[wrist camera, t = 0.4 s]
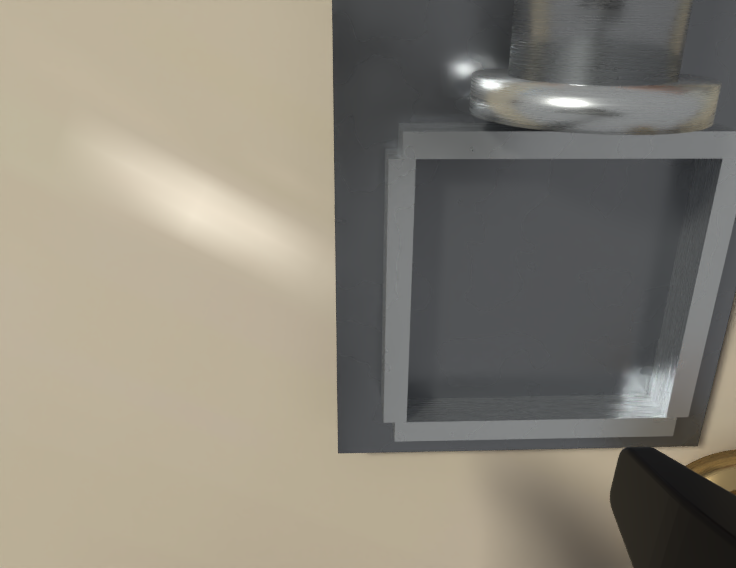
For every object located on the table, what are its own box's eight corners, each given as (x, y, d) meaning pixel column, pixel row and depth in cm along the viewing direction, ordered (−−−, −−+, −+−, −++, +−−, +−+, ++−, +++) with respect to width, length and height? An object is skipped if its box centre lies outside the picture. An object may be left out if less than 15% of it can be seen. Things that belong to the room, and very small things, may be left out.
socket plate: (678, 423, 27) (783, 551, 21) (338, 429, 26) (338, 563, 20) (810, -150, 19) (1043, -227, 13) (330, -159, 19) (326, -243, 12)
